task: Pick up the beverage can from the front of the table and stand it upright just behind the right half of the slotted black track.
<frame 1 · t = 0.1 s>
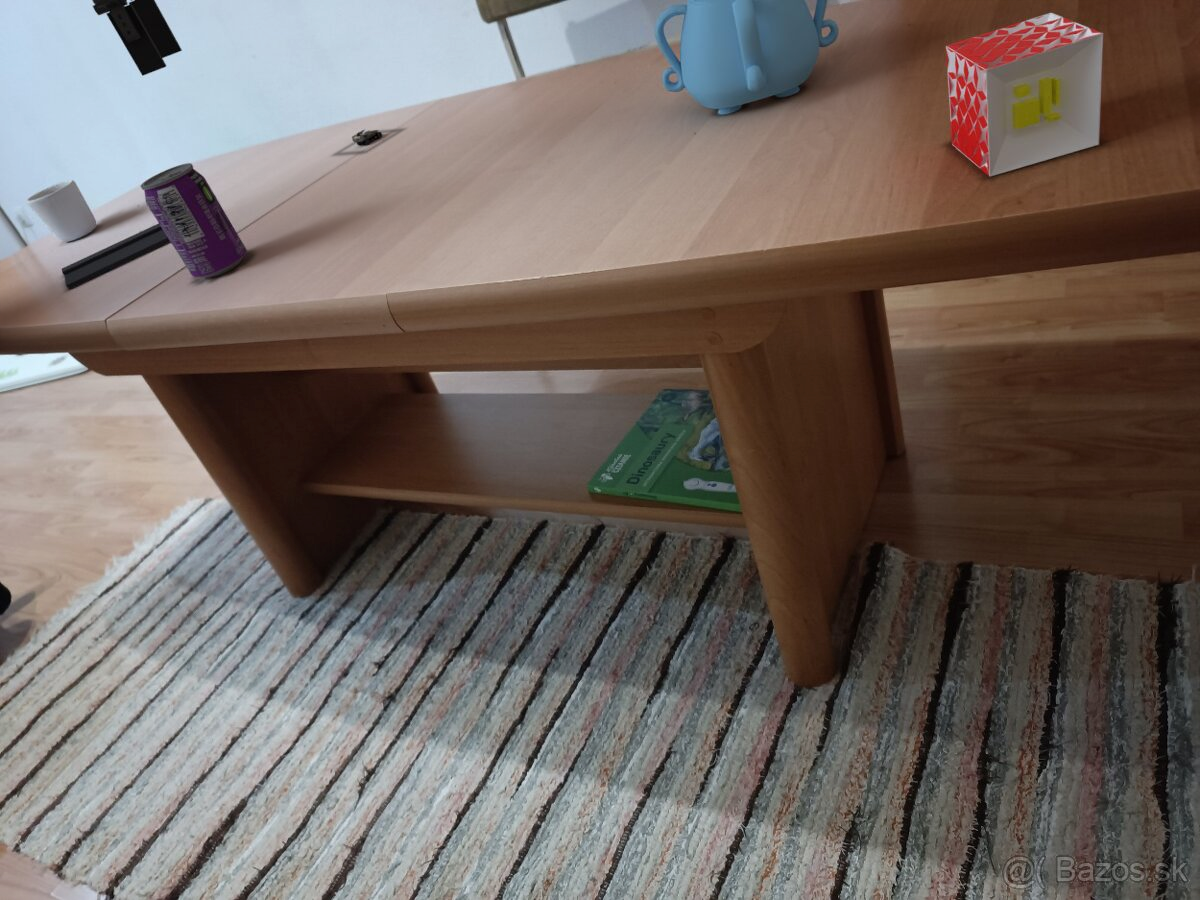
hand: (163, 62, 101), 22 cm above the table, tool pointing down, fingers open, 13 cm apart
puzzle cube: (1022, 147, 68), on the table
beverage can: (223, 269, 106), on the table
cup: (83, 233, 147), on the table
toy car: (368, 143, 136), on the table
slotted black track: (134, 250, 127), on the table
decorative pot: (755, 94, 98), on the table
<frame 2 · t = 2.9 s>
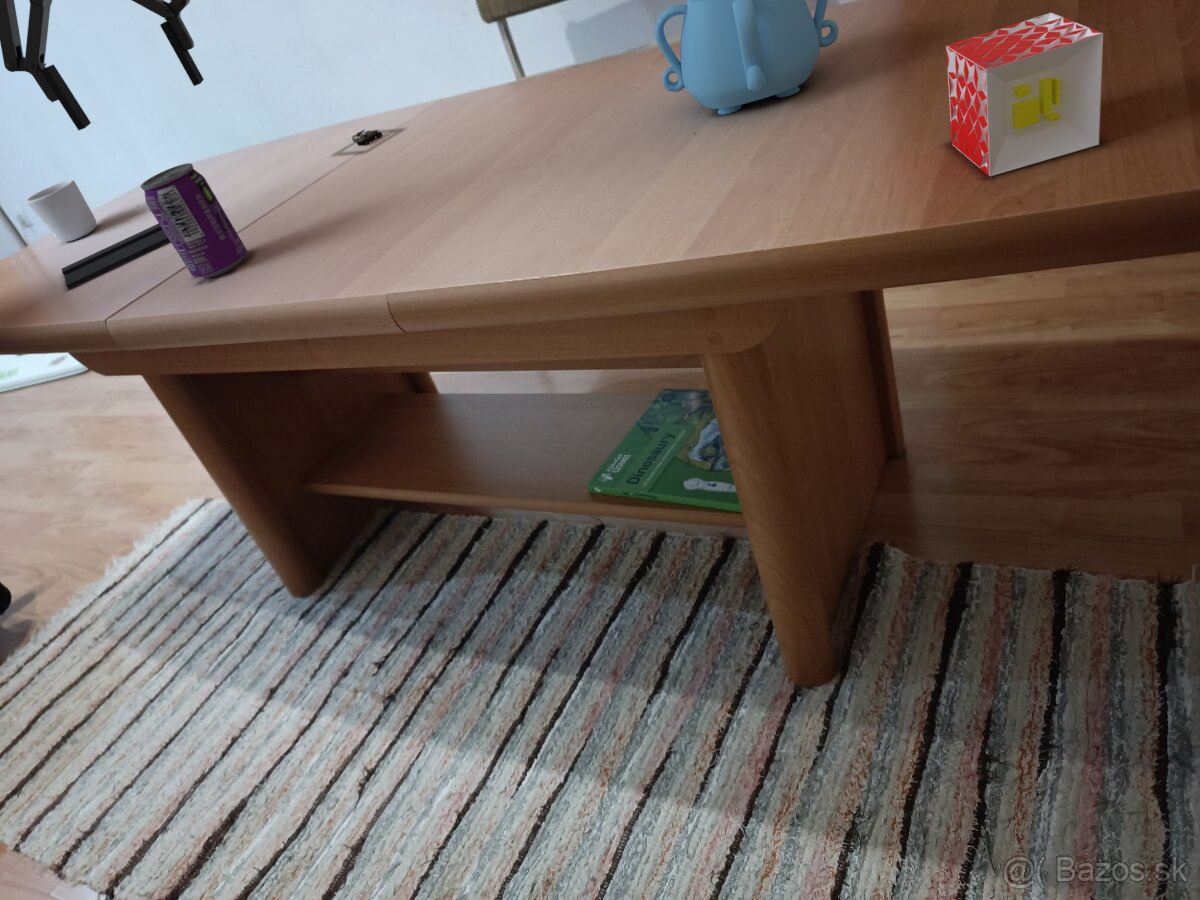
hand: (142, 105, 97), 19 cm above the table, tool pointing down, fingers open, 13 cm apart
nothing on the table moved.
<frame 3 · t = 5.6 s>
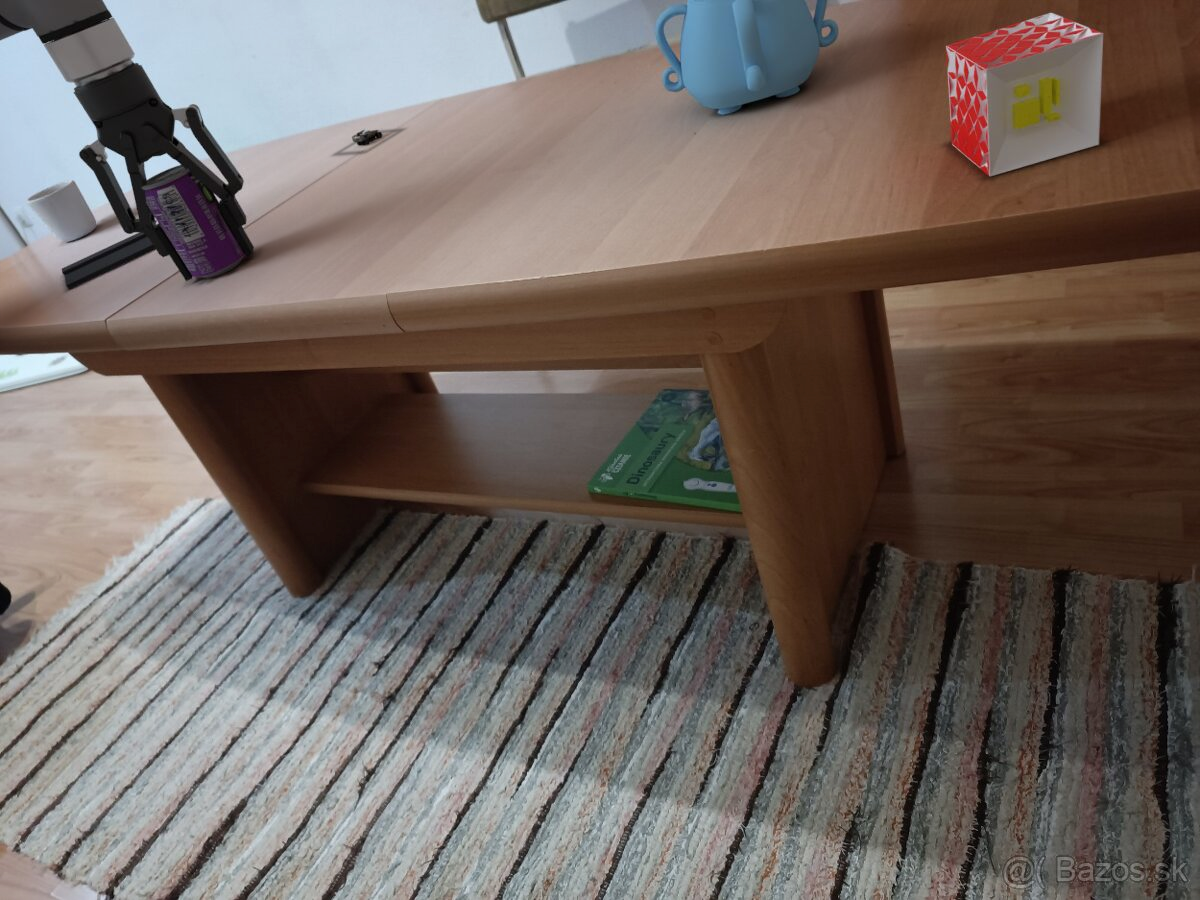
hand: (220, 263, 106), 1 cm above the table, tool pointing down, fingers closed on beverage can, 7 cm apart
beverage can: (223, 269, 106), on the table, touching gripper
everything else where it was.
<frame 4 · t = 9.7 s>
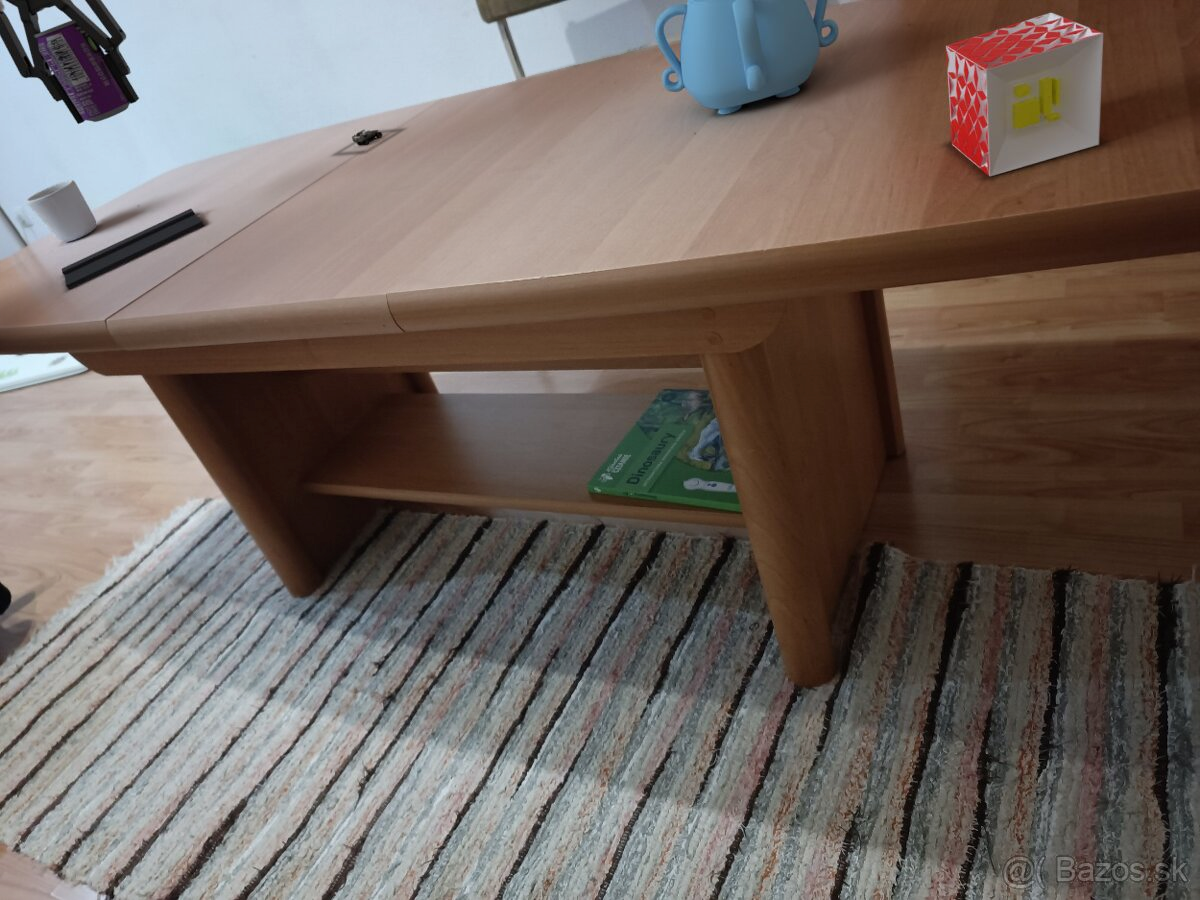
hand: (108, 110, 123), 17 cm above the table, tool pointing down, fingers closed on beverage can, 7 cm apart
beverage can: (112, 116, 123), point 16 cm above the table, touching gripper
everything else where it was.
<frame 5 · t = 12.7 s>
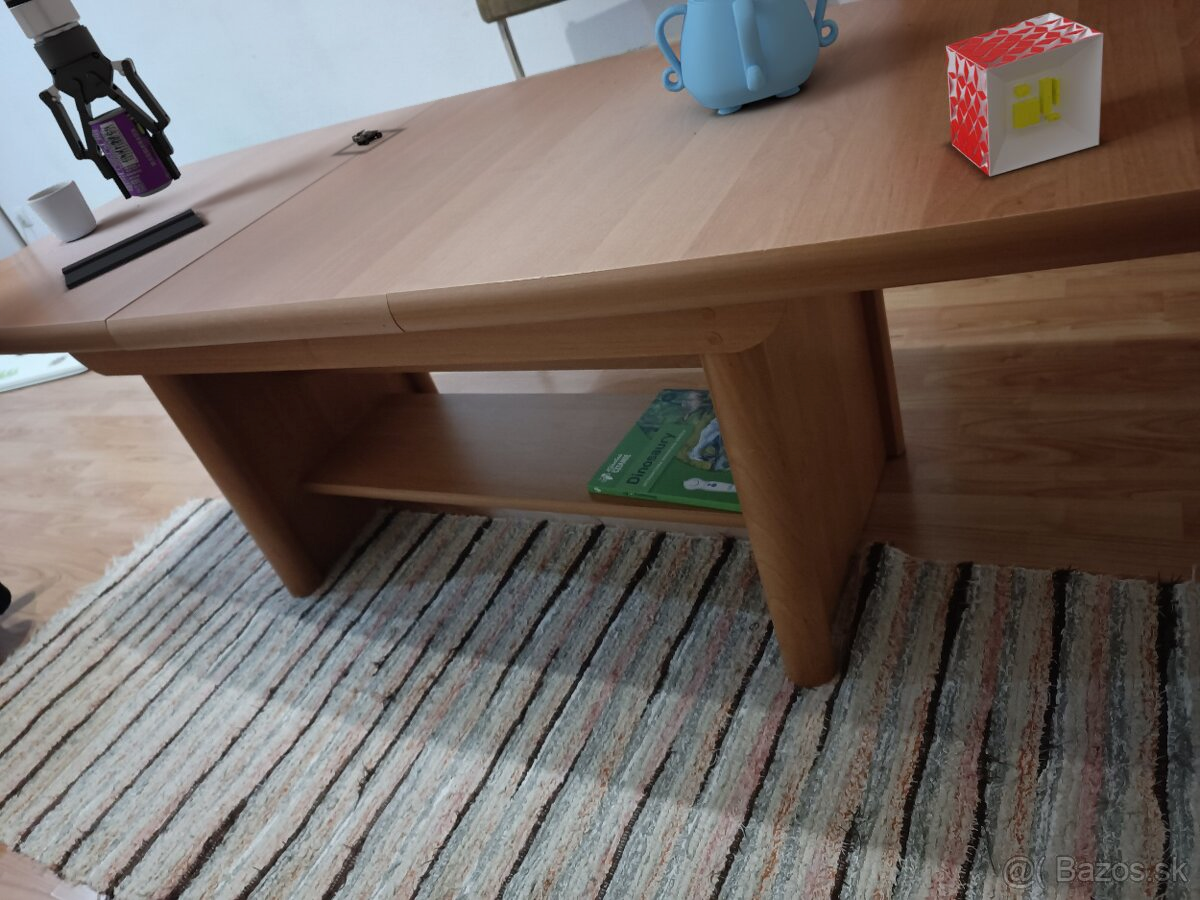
hand: (153, 186, 134), 5 cm above the table, tool pointing down, fingers closed on beverage can, 7 cm apart
beverage can: (156, 191, 134), point 4 cm above the table, touching gripper
everything else where it was.
when the fingers open (1 cm above the table, at t = 14.2 s): beverage can stays where it is, on the table.
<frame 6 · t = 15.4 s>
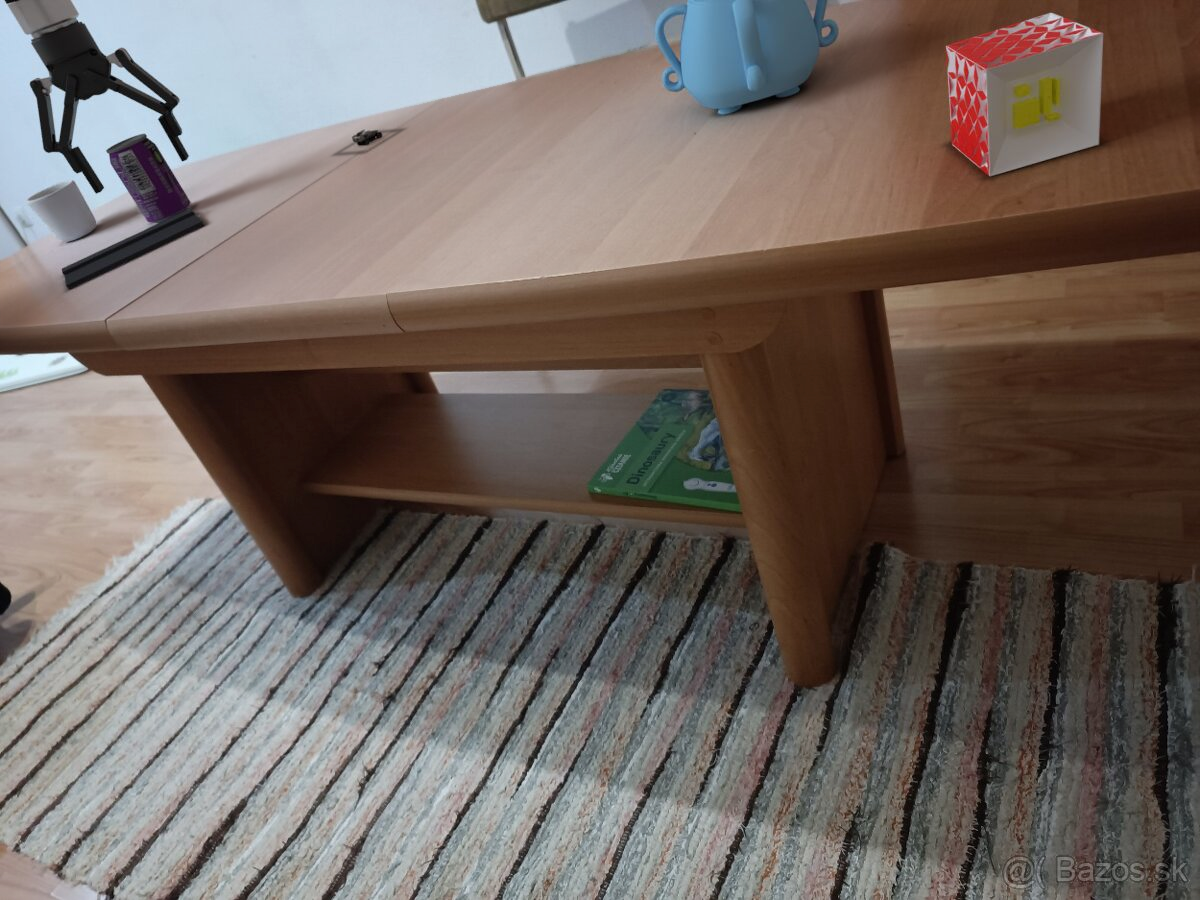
hand: (143, 174, 132), 7 cm above the table, tool pointing down, fingers open, 13 cm apart
beverage can: (172, 217, 137), on the table
everything else where it was.
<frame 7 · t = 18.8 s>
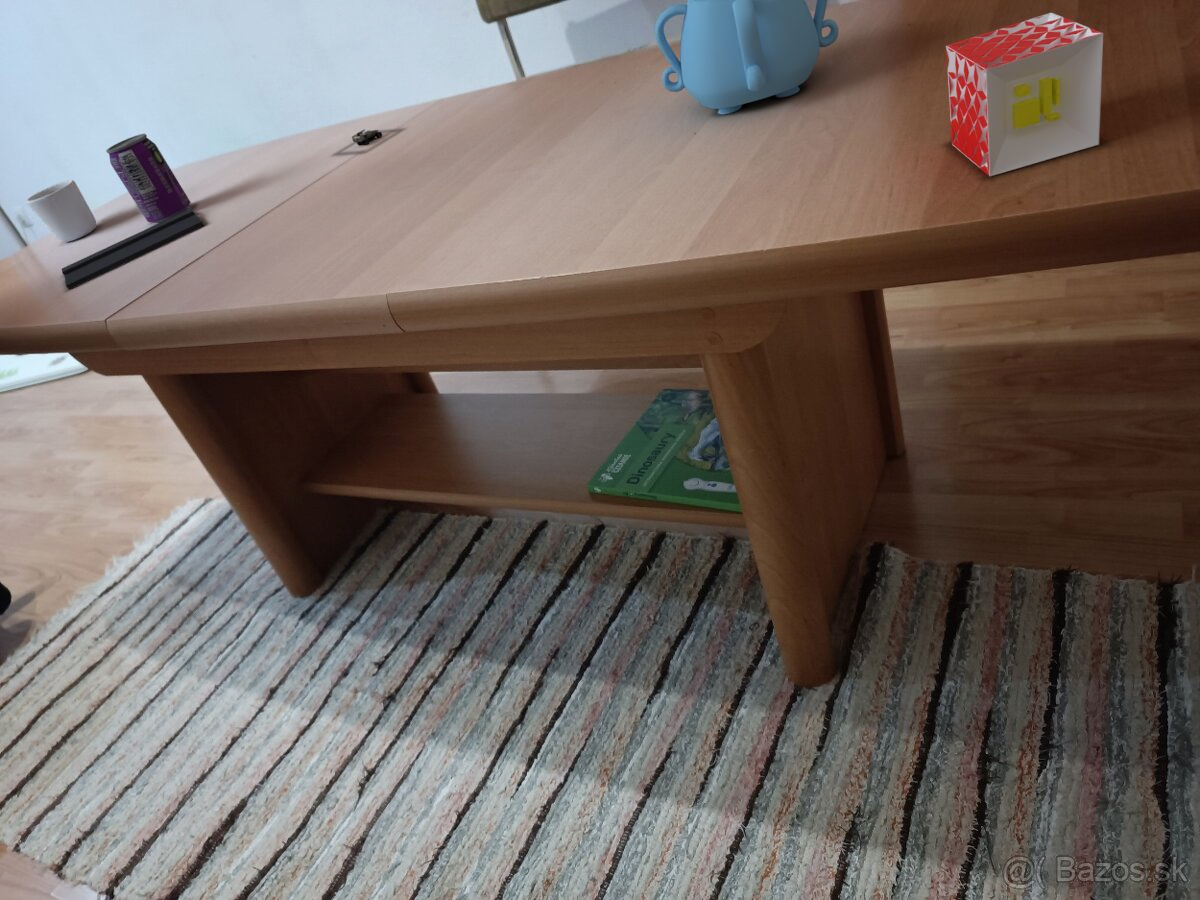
nothing on the table moved.
at the end: beverage can inside the target area on the table beside the slotted black track (1.1 cm from its centre), on the table; beverage can touching table; beverage can tilted 0° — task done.
